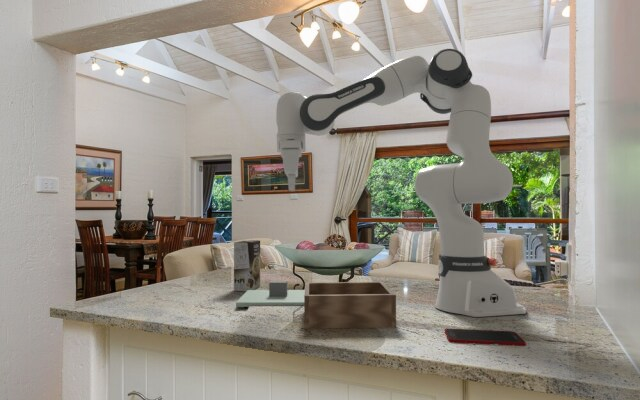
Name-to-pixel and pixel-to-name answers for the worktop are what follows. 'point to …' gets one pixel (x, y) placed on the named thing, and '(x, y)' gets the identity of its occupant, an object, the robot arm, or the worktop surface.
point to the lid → (272, 296)
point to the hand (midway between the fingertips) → (292, 190)
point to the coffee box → (246, 265)
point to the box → (349, 305)
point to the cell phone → (484, 337)
